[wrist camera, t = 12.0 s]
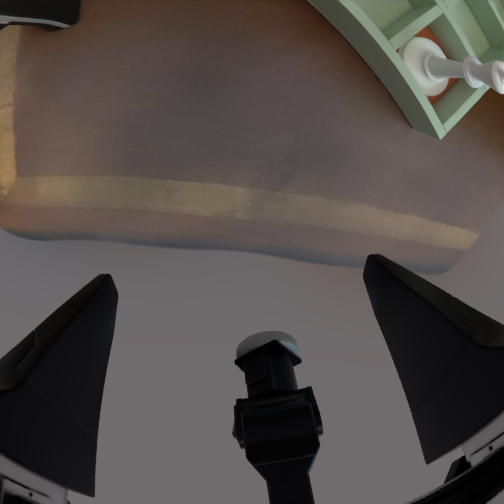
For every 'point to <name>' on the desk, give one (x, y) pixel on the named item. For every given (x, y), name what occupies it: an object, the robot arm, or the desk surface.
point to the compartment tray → (427, 26)
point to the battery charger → (39, 13)
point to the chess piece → (447, 67)
